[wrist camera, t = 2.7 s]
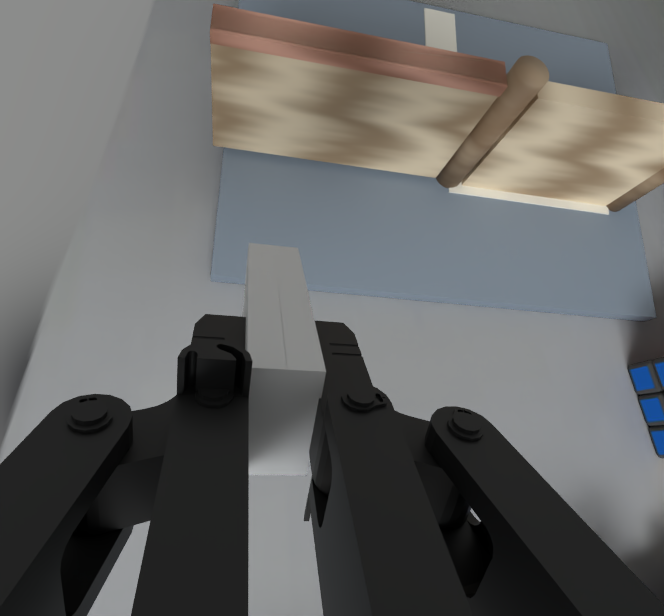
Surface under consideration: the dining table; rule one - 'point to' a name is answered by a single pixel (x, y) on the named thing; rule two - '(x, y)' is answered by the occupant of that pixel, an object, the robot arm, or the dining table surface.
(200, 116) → the dining table surface
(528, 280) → the board
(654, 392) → the puzzle toy
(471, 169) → the fence fixed section
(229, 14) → the fence panel
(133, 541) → the dining table surface
